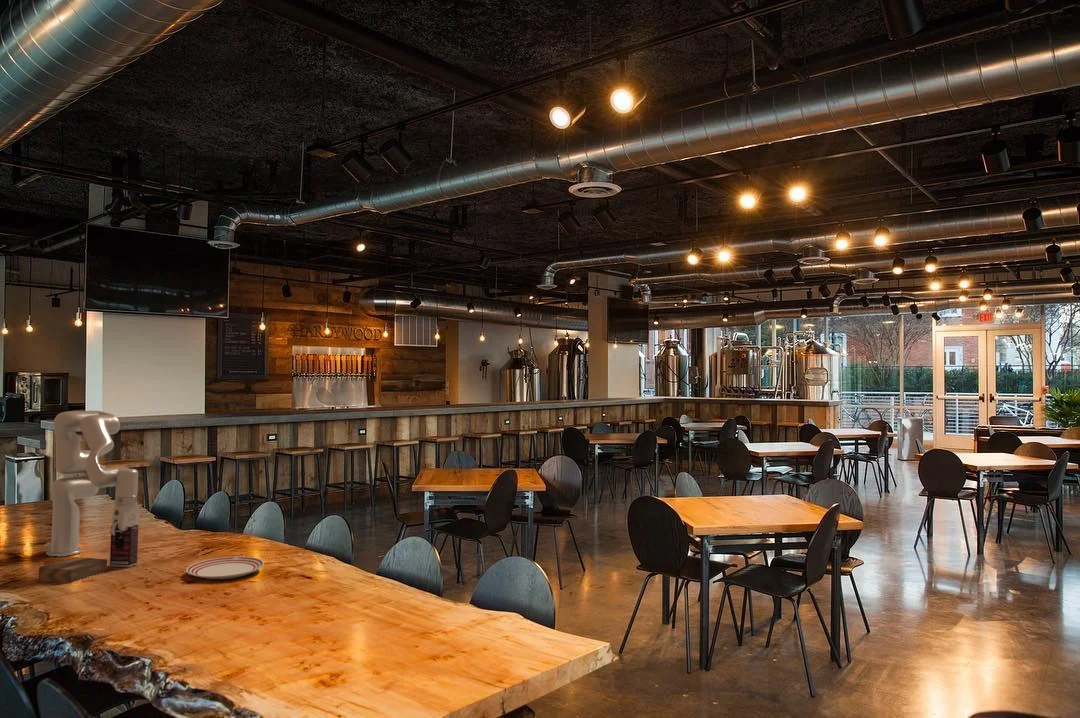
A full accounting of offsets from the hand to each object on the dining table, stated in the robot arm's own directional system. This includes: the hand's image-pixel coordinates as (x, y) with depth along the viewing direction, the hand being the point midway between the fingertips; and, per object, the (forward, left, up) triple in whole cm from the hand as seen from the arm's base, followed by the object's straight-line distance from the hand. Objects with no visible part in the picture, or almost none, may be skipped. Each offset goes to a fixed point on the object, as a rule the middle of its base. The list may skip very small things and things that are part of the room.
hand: (124, 546), depth 280 cm
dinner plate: (+44, -1, -8) cm, 45 cm away
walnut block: (-8, -16, -8) cm, 20 cm away
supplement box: (0, 0, -8) cm, 8 cm away
